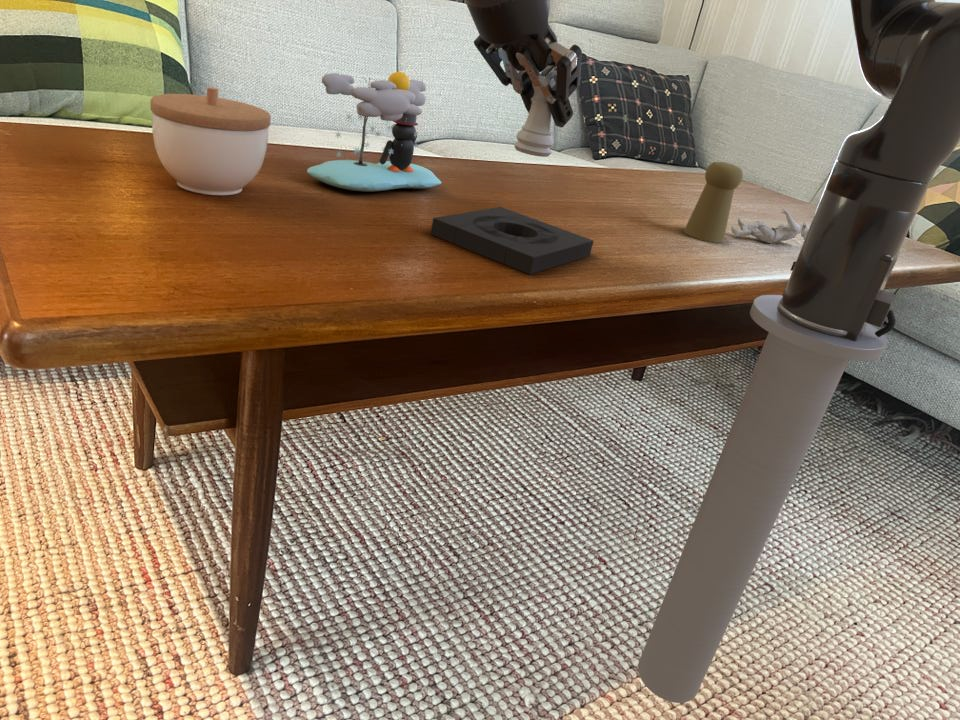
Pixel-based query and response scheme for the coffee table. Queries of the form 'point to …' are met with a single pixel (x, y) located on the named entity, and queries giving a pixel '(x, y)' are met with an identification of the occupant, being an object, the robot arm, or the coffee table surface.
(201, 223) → the coffee table surface
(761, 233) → the soldier figure
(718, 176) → the brown game pawn
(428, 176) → the penguin figurine
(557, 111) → the robot arm
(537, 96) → the rook chess piece
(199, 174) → the lidded bowl
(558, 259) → the pad
